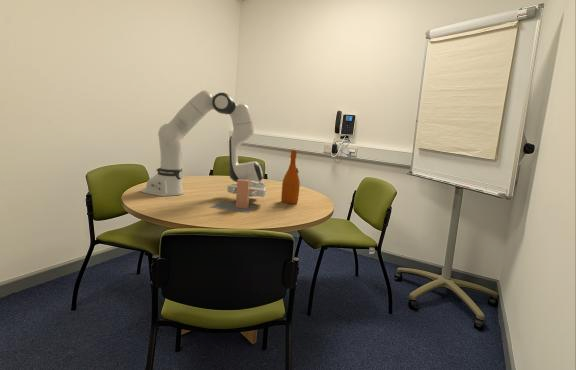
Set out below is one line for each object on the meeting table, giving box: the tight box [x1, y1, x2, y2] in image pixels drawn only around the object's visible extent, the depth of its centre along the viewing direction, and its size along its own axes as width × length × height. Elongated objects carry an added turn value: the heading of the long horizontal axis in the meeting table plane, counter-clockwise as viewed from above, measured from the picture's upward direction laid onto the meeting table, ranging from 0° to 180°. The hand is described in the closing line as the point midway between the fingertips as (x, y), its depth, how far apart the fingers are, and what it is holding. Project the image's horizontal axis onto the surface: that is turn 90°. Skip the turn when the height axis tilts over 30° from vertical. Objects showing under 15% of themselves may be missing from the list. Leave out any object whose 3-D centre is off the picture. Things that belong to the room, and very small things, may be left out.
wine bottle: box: [280, 149, 301, 205], centre depth 199 cm, size 10×10×30 cm
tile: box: [235, 179, 250, 208], centre depth 179 cm, size 6×2×14 cm, turn 79°
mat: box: [209, 200, 257, 214], centre depth 180 cm, size 20×15×1 cm
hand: (242, 193), depth 178 cm, fingers open, 8 cm apart
